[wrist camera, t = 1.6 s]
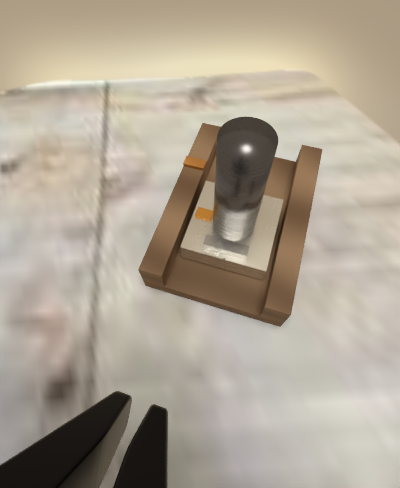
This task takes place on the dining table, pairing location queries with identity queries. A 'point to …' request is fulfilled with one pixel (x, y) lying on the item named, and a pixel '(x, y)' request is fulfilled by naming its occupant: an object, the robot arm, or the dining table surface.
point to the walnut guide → (220, 280)
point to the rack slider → (237, 202)
